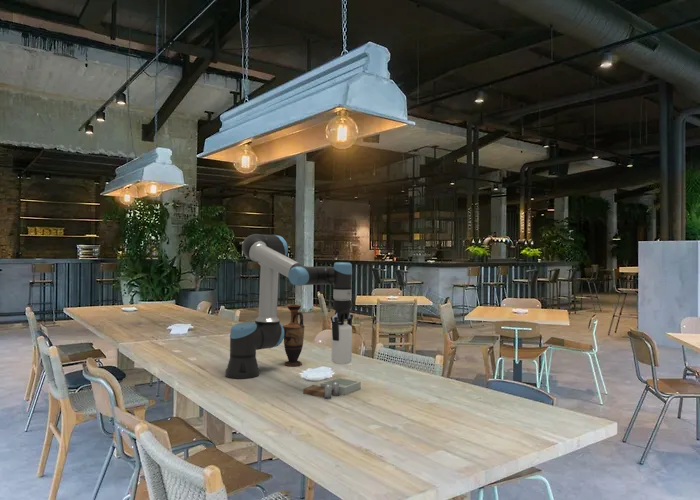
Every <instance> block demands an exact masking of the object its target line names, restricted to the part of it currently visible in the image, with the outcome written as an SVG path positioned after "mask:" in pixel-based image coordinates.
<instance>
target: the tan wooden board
mask: <svg viewBox="0 0 700 500" xmlns="http://www.w3.org/2000/svg"><path fill="white" fill-rule="evenodd" d="M302 392H303V393H302V394H303V395H308V396H314V397H318V398H322V399H325V398H324V387H323V386H321V385H315V384H312V385H310V386H307V387H304V388H303V389H302Z"/></svg>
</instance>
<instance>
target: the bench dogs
mask: <svg viewBox="0 0 700 500" xmlns="http://www.w3.org/2000/svg"><path fill="white" fill-rule="evenodd" d="M339 395H340V394H339V382H332V385H331V384H326V385H324V398H323V399H325V400H332V398H333V397H338V396H339Z"/></svg>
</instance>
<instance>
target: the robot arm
mask: <svg viewBox="0 0 700 500" xmlns="http://www.w3.org/2000/svg"><path fill="white" fill-rule="evenodd" d="M288 247H289V246H288V243H287V241H286V240H285V238H284V237H283V236H281V235H277V234H262V233H261V234H259V233H252V234H251V235H248V236H247V237H245V238H244V240H243V242H242V245H241V250H242V253H243V255H244V256H245V257H246V258H247V259H249V260H251V261H252V262H257V263H258V265H259V266H260V271H259V272H260V277H259V296H258V297H259V298H258V317H256V318H255V319H254V320H255V321H254V322H252V321H247V322H239V323H237V324H236V323H235V324H234V325H232V326H231V327H230V332H229V333H230V334H229V360H228V364H227V367H226V369H225V377H227V378H230V379H237V380H238V379H240V380H241V379H243V380H244V379H253V378H257V377H258V376H259V375H260V368H259V365H258V361H257V356H256V355H257V351H258V350H264V349H273V348H275V347H278V346H280V345H281V344H282V343H283V342H284V328H283V326H284V325H283V324H282V323H281V320H280V319H279V317H278V299H279V298H278V297H279V296H278V295H279V294H278V293H279V292H278V291H279V274H281V275H283V276H284V277H286V278H288V281H289V283H290V285H291V284H292V285H293V286H312V285H314V286H315V285H316V286H317V285H329V286H330V285H332V286H333V291H332V293H333V296H332V297H333V299H334V300H333V301H332V303H333V304H332V306H333V307H332V308H333V309H334V311H335V312H334V315H333V316H331V317H330V321H331V337H332V336H333V340H335V341H339V326H338V325H343V324H344V319H347V324H349V325H350V326H351V327H352V326H353V325H352V324H353V319H354V318H353V317H354V315H353V314H351V313H350V310H352V300H351V299H352V288H353V287H352V281H353V267H352V266H353V265H352V263H351V262H342V261H341V262H334V264H333V266H323V265H321V266H305V265H303V264H302V263H300V262H298V261H296V260H294V259H291V257H288V256H287V255H288V254H289V253H288V251H289V248H288ZM338 322H341V323H338ZM352 328H353V327H352Z"/></svg>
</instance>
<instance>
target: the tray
mask: <svg viewBox="0 0 700 500" xmlns="http://www.w3.org/2000/svg"><path fill="white" fill-rule="evenodd" d="M332 382H339V395H342V396H347V395H349V394H351V393H352V394H353V393H354V392H357V391H359V390H361V385H362V383H361V381H360V380H353V379H348V378H342V377H335V378H332V379H329V380H326V381H322V382H320V386H323V387H324V385H326V384H331V385H332Z"/></svg>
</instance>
